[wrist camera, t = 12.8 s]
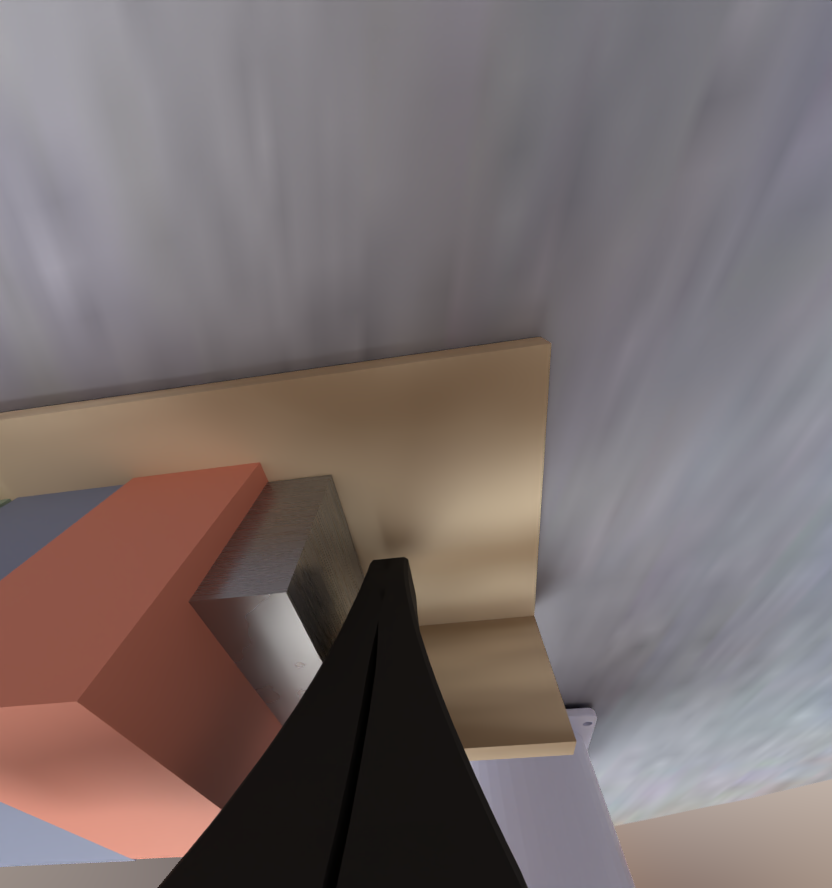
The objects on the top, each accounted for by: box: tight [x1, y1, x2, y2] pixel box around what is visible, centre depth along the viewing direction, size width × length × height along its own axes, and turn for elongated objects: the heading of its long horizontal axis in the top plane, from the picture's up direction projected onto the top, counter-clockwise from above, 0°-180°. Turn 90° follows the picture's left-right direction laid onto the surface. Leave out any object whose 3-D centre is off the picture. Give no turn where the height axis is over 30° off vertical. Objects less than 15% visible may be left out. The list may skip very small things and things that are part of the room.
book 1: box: [0, 484, 136, 867], centre depth 9 cm, size 8×4×6 cm, turn 8°
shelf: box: [0, 337, 577, 761], centre depth 9 cm, size 12×22×7 cm, turn 98°
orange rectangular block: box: [0, 462, 282, 859], centre depth 9 cm, size 8×4×6 cm, turn 8°
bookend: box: [189, 475, 365, 726], centre depth 10 cm, size 7×2×4 cm, turn 8°
